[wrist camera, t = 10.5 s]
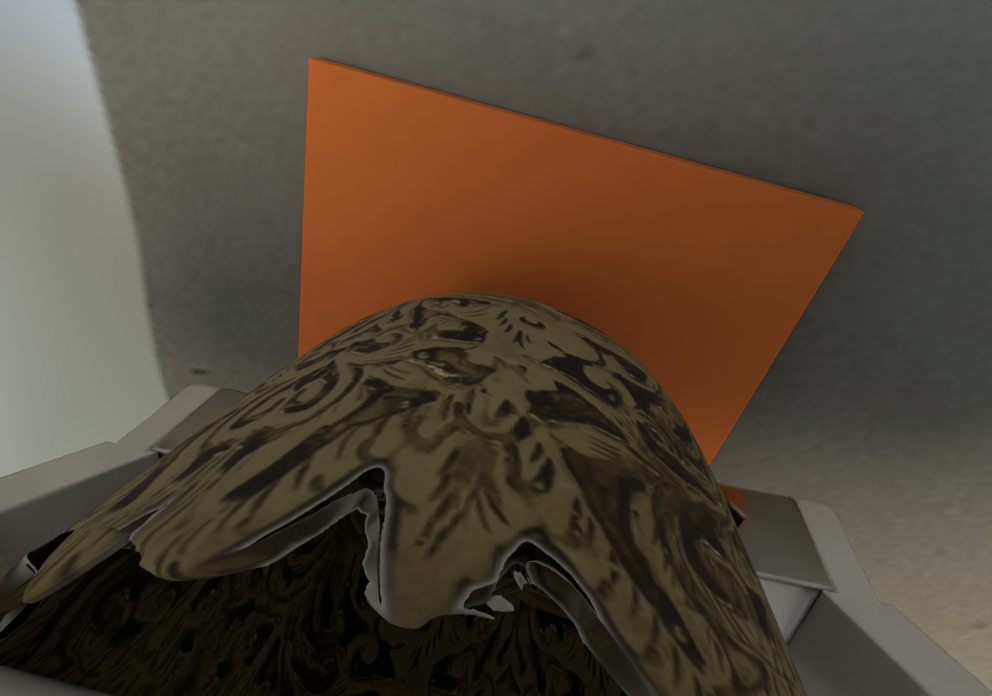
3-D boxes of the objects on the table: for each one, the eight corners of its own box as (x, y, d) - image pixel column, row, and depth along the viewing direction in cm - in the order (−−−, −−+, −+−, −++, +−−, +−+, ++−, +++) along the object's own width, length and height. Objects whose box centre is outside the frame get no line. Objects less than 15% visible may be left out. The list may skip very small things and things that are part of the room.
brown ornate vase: (292, 226, 10) (-316, 591, 4) (690, 140, 8) (1058, 613, 1) (411, 501, 14) (218, 954, 7) (713, 488, 12) (857, 1114, 5)
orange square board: (318, 56, 9) (307, 57, 9) (855, 206, 9) (865, 212, 8) (301, 451, 14) (293, 461, 14) (645, 558, 14) (646, 571, 13)
